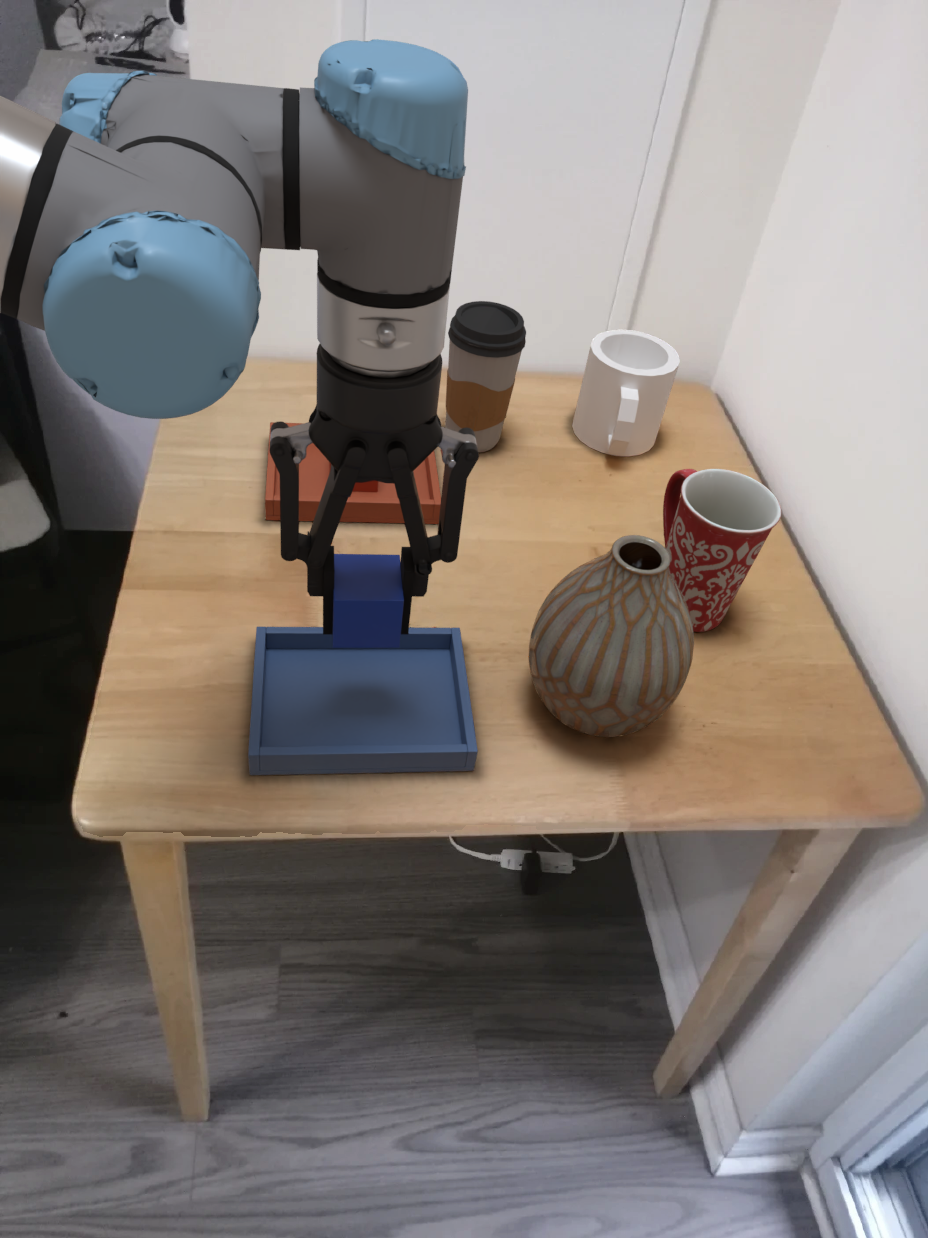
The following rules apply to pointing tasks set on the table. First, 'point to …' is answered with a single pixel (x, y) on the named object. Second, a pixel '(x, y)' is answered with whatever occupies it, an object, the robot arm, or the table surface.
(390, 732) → the blue tray
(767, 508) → the mug
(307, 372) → the table surface
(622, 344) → the mug
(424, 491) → the terracotta tray
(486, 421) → the coffee cup
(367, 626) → the blue block
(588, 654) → the vase
